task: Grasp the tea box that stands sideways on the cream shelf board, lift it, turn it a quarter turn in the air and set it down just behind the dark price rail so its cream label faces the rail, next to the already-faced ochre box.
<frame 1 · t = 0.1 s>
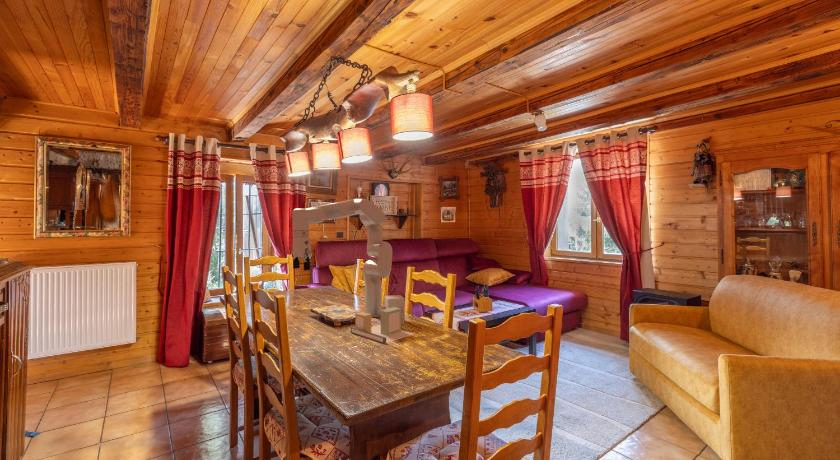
hand: (301, 269, 192), 31 cm above the table, fingers open, 9 cm apart
shelf: (383, 336, 187), on the table
faced box: (363, 332, 188), point 1 cm above the table, touching shelf
supplement box: (394, 325, 206), on the table
tea box: (391, 332, 188), point 1 cm above the table, touching shelf
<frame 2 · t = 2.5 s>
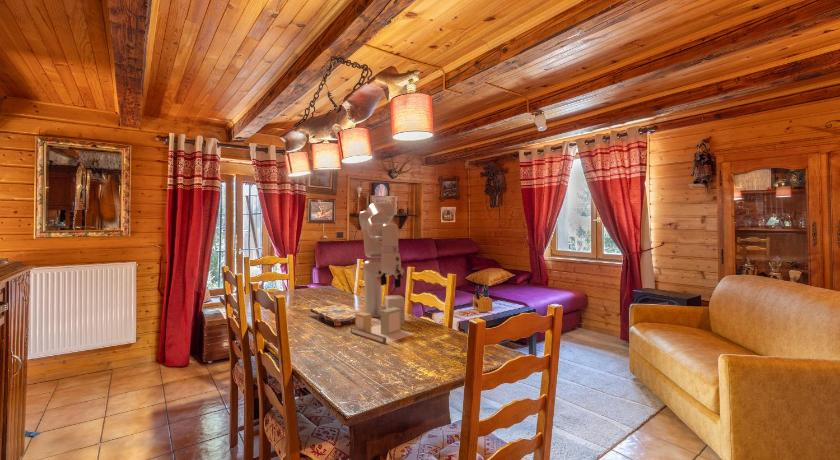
hand: (390, 286, 187), 24 cm above the table, fingers open, 9 cm apart
nothing on the table moved.
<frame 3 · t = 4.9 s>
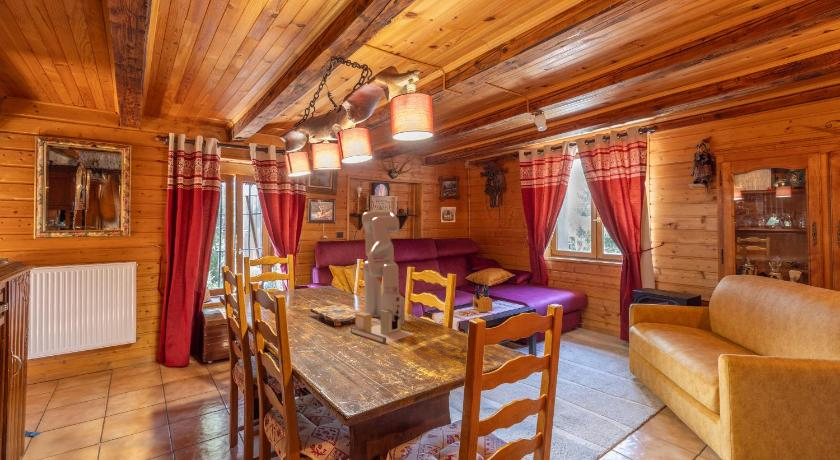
hand: (390, 327, 188), 4 cm above the table, fingers closed on tea box, 4 cm apart
tea box: (390, 332, 188), point 2 cm above the table, touching gripper, shelf
everything else where it was.
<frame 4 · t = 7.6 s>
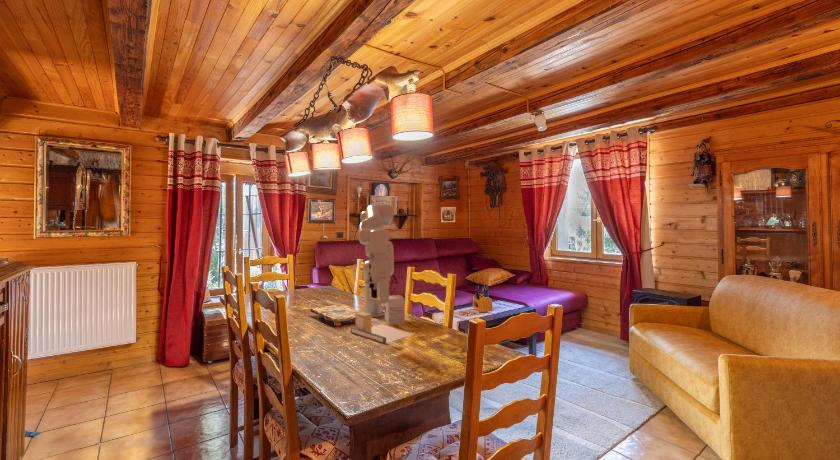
hand: (378, 296, 180), 20 cm above the table, fingers closed on tea box, 4 cm apart
tea box: (378, 301, 180), point 18 cm above the table, touching gripper
everything else where it was.
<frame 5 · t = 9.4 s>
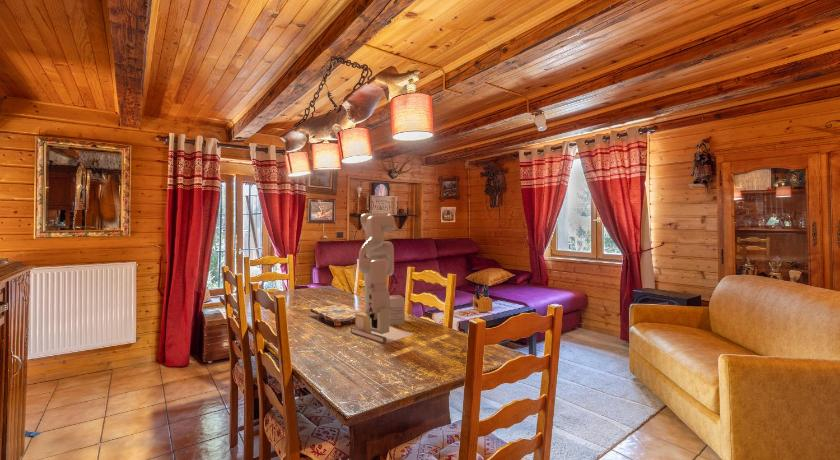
hand: (378, 325, 180), 7 cm above the table, fingers closed on tea box, 4 cm apart
tea box: (379, 331, 180), point 4 cm above the table, touching gripper
everything else where it was.
when the fingers open (5 cm above the table, at t = 10.5 s): tea box drops 1 cm, resting on shelf.
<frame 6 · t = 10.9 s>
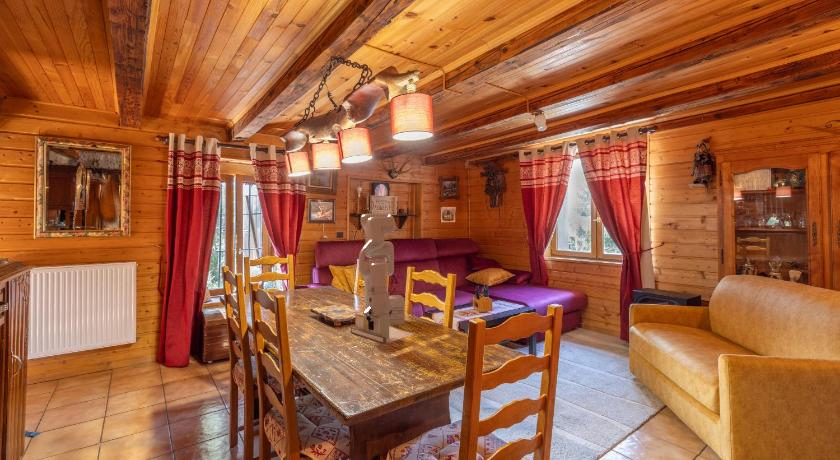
hand: (378, 327, 181), 6 cm above the table, fingers open, 8 cm apart
tea box: (379, 337, 181), point 1 cm above the table, touching shelf
everything else where it was.
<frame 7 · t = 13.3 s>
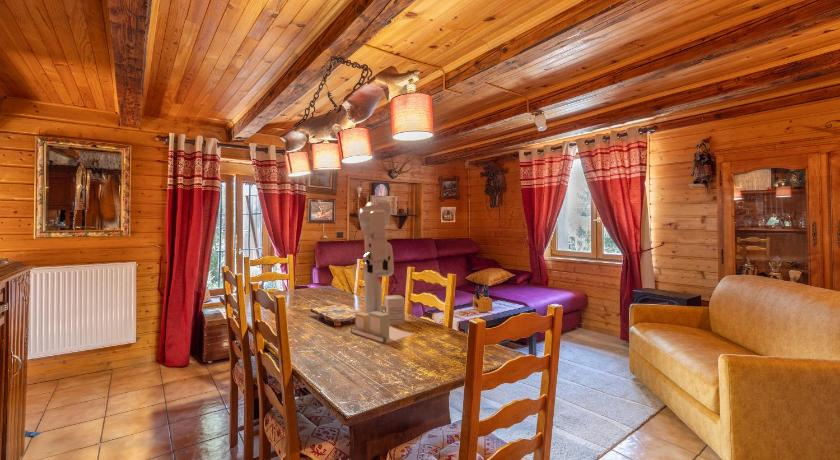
hand: (377, 271, 193), 30 cm above the table, fingers open, 9 cm apart
nothing on the table moved.
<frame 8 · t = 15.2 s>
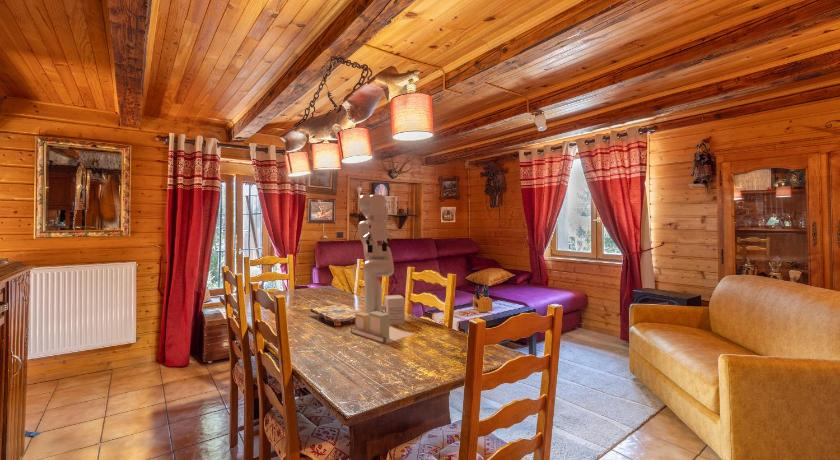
hand: (377, 251, 204), 38 cm above the table, fingers open, 9 cm apart
nothing on the table moved.
at the end: tea box 0.2 cm from the target spot, point 1.5 cm above the table; tea box tilted 0°; the gripper is holding nothing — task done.
